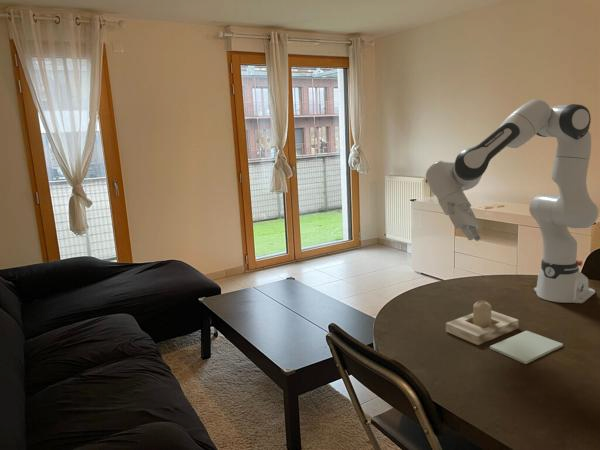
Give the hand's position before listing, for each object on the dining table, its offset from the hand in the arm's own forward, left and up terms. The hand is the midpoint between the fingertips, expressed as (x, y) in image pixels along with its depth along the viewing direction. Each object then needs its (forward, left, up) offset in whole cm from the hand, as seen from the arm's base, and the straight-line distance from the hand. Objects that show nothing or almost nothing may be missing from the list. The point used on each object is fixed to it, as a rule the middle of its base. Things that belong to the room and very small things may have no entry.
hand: (475, 239), depth 156 cm
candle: (+4, +6, -29) cm, 30 cm away
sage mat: (+4, +22, -29) cm, 37 cm away
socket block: (+4, +6, -29) cm, 30 cm away
